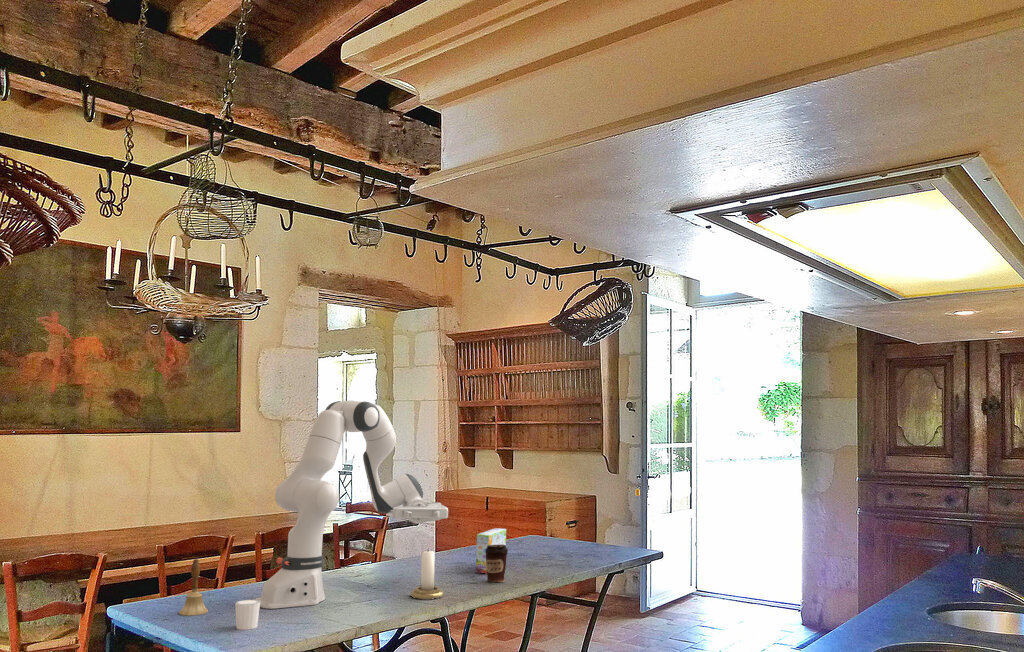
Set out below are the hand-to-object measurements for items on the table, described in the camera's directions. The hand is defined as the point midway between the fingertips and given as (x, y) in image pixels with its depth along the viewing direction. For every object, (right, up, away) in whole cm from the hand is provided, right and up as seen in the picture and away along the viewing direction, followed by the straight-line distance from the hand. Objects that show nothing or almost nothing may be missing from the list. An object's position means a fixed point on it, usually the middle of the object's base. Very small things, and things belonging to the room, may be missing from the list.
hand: (423, 514), depth 285 cm
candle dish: (+3, -24, -15) cm, 28 cm away
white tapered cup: (-44, -19, -56) cm, 74 cm away
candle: (+3, -23, -14) cm, 27 cm away
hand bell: (-66, -21, -39) cm, 80 cm away
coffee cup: (+26, -28, +11) cm, 39 cm away
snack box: (+23, -31, +36) cm, 53 cm away
